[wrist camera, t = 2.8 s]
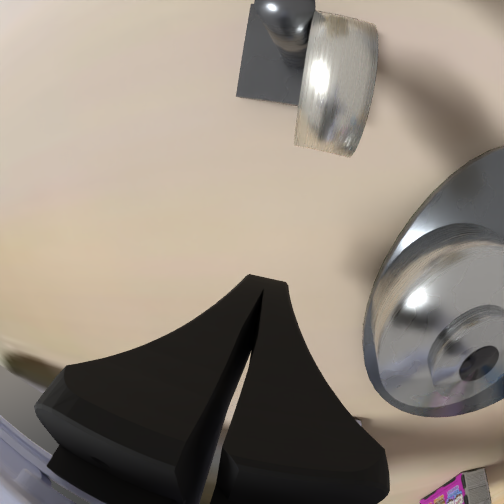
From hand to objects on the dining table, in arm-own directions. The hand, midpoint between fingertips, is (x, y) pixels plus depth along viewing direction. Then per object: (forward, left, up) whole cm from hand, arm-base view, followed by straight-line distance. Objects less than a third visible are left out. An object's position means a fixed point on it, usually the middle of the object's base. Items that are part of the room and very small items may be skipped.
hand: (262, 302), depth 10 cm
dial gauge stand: (+8, 0, -4) cm, 9 cm away
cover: (0, -9, -3) cm, 9 cm away
